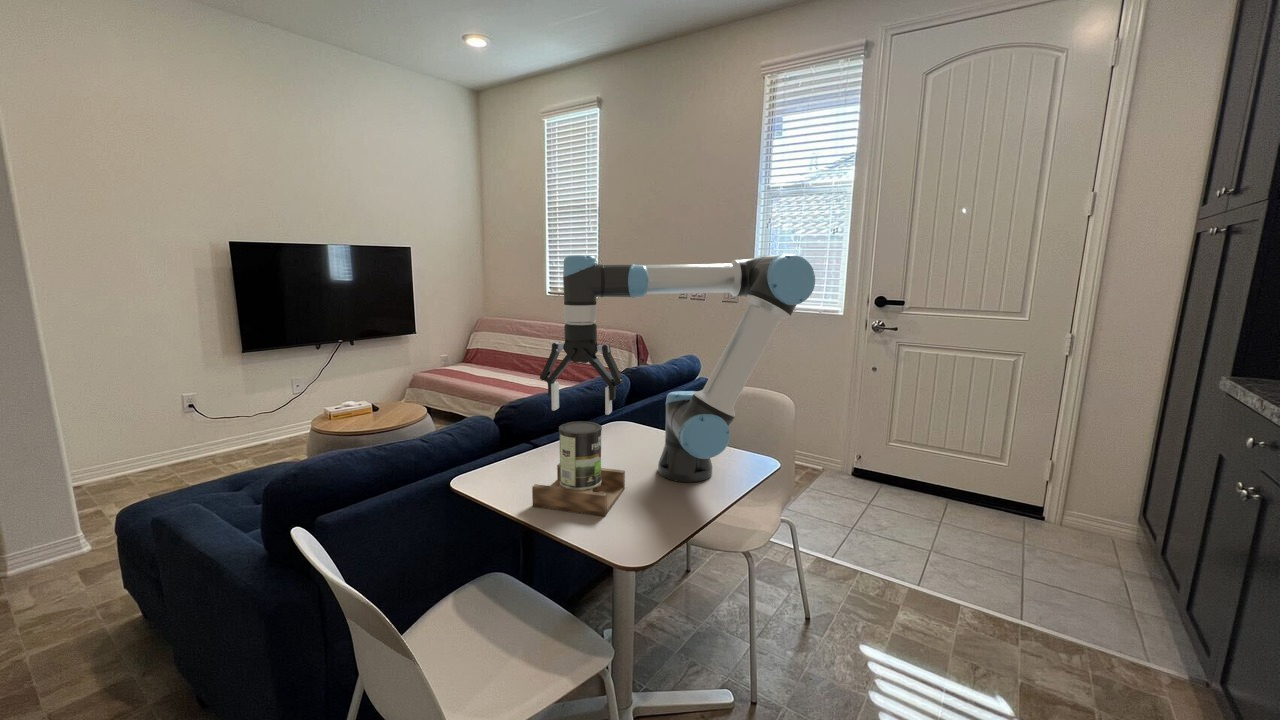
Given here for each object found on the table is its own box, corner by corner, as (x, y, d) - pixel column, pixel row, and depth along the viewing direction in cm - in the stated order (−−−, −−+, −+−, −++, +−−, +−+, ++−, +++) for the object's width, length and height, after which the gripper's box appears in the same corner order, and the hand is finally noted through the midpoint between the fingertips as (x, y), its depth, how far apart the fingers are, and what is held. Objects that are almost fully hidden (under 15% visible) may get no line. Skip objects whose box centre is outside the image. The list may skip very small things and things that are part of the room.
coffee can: (606, 476, 131) (606, 422, 129) (594, 492, 121) (595, 434, 119) (567, 472, 133) (567, 419, 131) (553, 488, 123) (552, 431, 121)
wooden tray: (624, 489, 133) (624, 470, 133) (604, 516, 118) (605, 496, 117) (559, 480, 138) (559, 462, 137) (532, 506, 123) (532, 486, 122)
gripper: (636, 323, 121) (635, 410, 125) (538, 319, 127) (540, 403, 131) (627, 326, 114) (627, 419, 118) (524, 322, 120) (527, 411, 124)
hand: (581, 411), depth 124 cm, fingers open, 13 cm apart
